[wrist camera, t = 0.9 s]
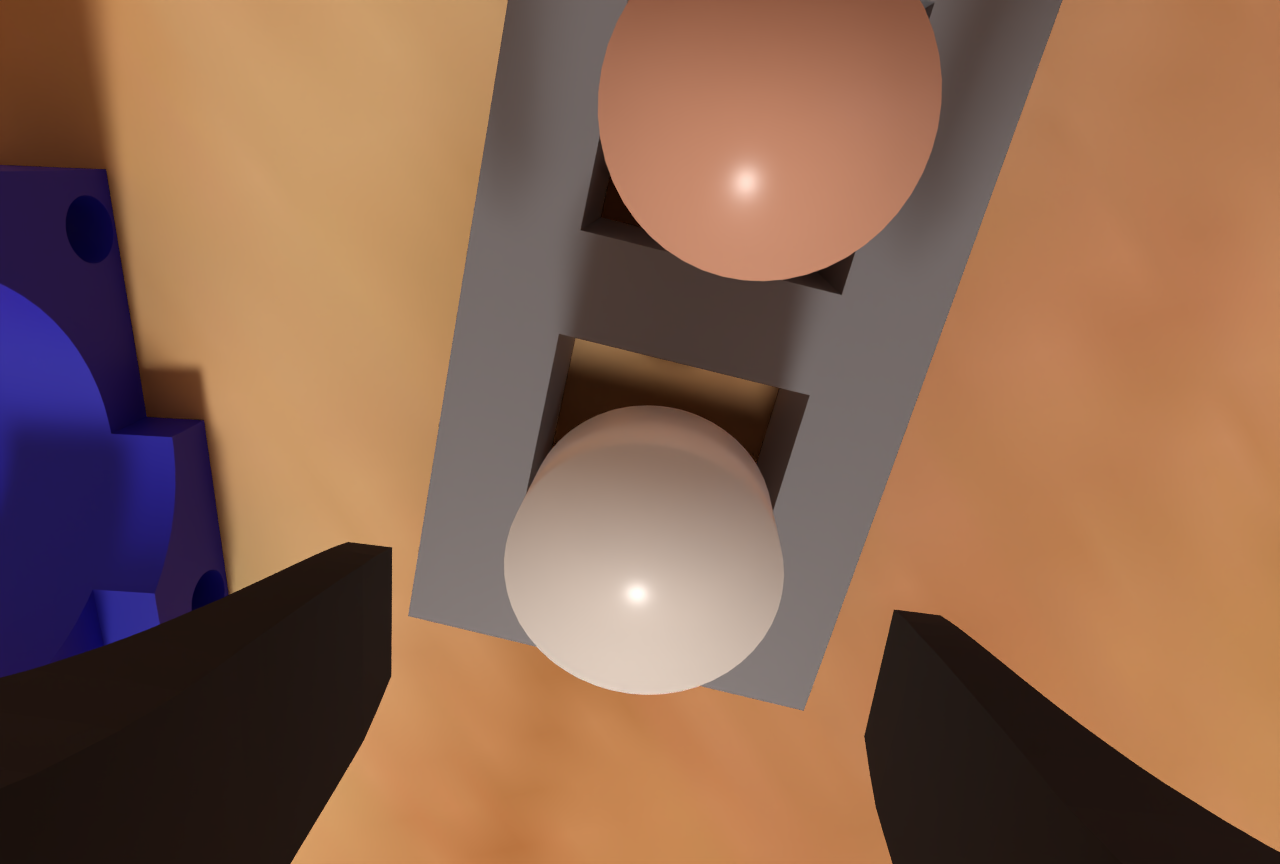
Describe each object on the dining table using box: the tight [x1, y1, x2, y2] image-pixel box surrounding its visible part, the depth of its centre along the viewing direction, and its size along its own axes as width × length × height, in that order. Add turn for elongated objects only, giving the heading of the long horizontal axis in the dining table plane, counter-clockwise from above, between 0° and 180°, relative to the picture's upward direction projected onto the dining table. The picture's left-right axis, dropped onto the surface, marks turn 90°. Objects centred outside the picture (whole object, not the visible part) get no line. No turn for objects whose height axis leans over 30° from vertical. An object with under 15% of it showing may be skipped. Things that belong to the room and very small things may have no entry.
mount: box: [408, 0, 1062, 711], centre depth 16 cm, size 9×23×4 cm, turn 167°
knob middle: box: [598, 0, 942, 281], centre depth 13 cm, size 4×4×5 cm
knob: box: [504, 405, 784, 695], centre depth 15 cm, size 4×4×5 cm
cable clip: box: [0, 165, 229, 678], centre depth 18 cm, size 12×4×6 cm, turn 178°
